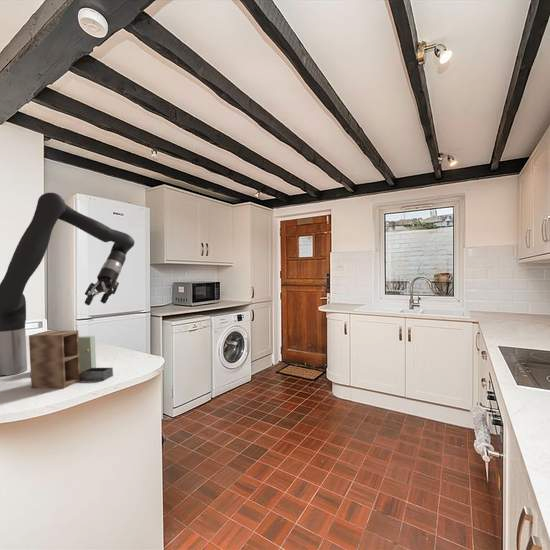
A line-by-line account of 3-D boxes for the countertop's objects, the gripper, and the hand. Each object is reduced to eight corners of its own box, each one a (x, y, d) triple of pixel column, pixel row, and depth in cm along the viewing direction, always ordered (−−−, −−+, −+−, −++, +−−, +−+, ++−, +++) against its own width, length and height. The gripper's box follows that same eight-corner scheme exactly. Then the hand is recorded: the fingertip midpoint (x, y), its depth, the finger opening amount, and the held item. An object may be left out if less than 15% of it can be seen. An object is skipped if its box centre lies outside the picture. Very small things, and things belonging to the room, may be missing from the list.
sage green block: (75, 374, 118) (73, 338, 117) (82, 371, 121) (80, 335, 121) (89, 374, 117) (88, 337, 117) (96, 371, 120) (94, 335, 120)
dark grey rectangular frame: (79, 380, 110) (79, 372, 110) (89, 375, 115) (89, 367, 115) (103, 380, 109) (103, 372, 109) (112, 375, 114) (112, 367, 114)
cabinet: (31, 388, 104) (28, 335, 104) (50, 380, 112) (47, 330, 112) (64, 388, 103) (61, 335, 103) (80, 380, 111) (78, 330, 110)
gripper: (91, 268, 136) (74, 300, 126) (117, 264, 131) (101, 297, 122) (103, 278, 141) (88, 309, 132) (128, 274, 137) (114, 306, 128)
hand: (94, 303), depth 127 cm, fingers open, 8 cm apart
